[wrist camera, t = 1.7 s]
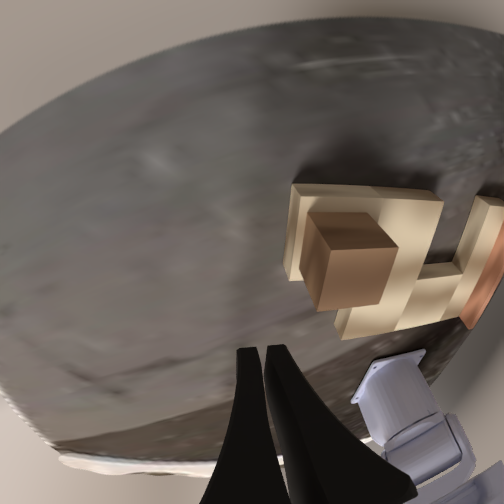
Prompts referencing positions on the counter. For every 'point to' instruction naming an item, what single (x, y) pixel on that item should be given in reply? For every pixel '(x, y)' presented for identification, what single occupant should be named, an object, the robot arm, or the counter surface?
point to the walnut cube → (345, 259)
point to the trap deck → (409, 255)
